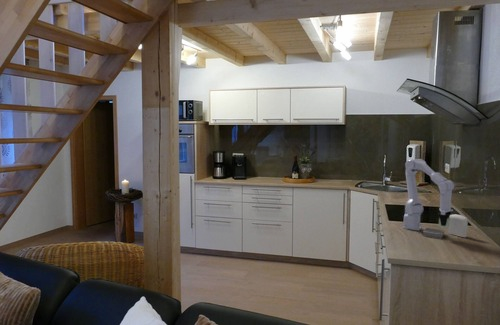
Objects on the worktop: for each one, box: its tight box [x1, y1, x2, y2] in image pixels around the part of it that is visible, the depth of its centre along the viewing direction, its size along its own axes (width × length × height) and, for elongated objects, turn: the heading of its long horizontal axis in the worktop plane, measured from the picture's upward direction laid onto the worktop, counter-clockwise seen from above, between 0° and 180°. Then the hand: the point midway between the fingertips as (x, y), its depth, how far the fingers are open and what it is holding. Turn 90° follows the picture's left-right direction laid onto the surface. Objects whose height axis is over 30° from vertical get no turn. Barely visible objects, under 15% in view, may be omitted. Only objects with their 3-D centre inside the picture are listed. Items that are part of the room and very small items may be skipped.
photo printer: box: [448, 213, 469, 238], centre depth 226 cm, size 10×4×12 cm, turn 29°
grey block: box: [422, 227, 445, 239], centre depth 227 cm, size 10×10×3 cm
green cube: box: [438, 217, 450, 230], centre depth 220 cm, size 5×5×5 cm
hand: (444, 224), depth 220 cm, fingers closed on green cube, 5 cm apart
